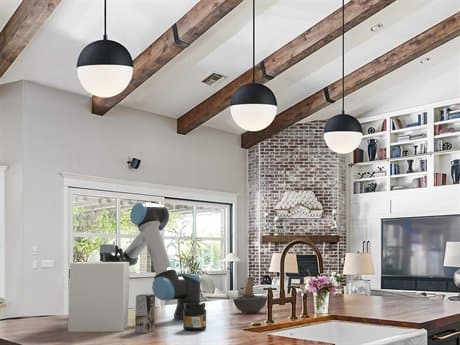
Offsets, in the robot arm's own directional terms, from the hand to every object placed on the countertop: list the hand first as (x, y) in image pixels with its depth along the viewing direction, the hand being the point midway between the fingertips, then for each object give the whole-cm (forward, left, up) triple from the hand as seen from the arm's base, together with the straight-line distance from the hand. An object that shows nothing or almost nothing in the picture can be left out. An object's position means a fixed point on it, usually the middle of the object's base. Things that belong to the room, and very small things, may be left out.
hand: (109, 243), depth 316 cm
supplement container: (-44, +31, -39) cm, 67 cm away
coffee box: (-22, +35, -39) cm, 57 cm away
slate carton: (0, +4, -5) cm, 6 cm away
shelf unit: (0, +25, -39) cm, 46 cm away
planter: (-74, -37, -39) cm, 92 cm away
